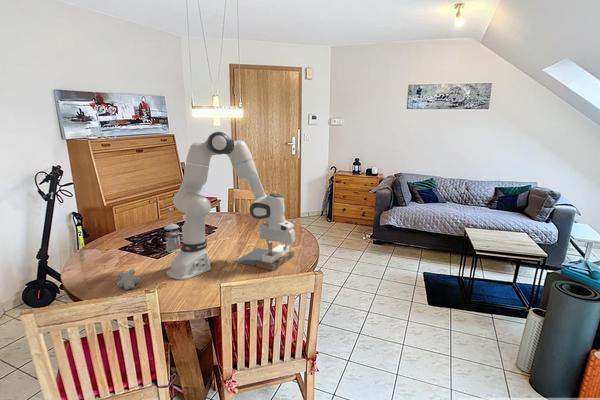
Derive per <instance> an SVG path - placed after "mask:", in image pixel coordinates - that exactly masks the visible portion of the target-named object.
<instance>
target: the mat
mask: <svg viewBox="0 0 600 400" xmlns="http://www.w3.org/2000/svg"><path fill="white" fill-rule="evenodd" d="M267 252H268V249H266V248H261V247H257V248H255V249H253V250H252V251H249V252H248V253H246V254H244V255H242V256H241V257H239V258H238V259H236V260H234V263H238V264H242V265H246V266H251V267H257V261H258V260H260V259H262V255H264V254H265V253H267Z"/></svg>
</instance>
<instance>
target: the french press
mask: <svg viewBox="0 0 600 400" xmlns="http://www.w3.org/2000/svg"><path fill="white" fill-rule="evenodd" d="M172 210H173V209H172V208H171V207H169V208H168V211H172ZM171 215H172V214H171V212H169V216H170V219H172V217H171ZM179 227H180V226H179V224H176V223H169V224H166V225H164V227H163V228H164V230H168V231H169V232H166V233H165V239H164V240H165V245H166V247H165V249H164V251H165V252H166V251H167V252H166V253H177V252H180V251H181V249H179V248H177V245H178V244H179V245H181V241H182V239H181V235H182V233H181V232H180V230H179V229H178V228H179ZM176 229H177V230H176ZM174 230H175V231H174Z"/></svg>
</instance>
